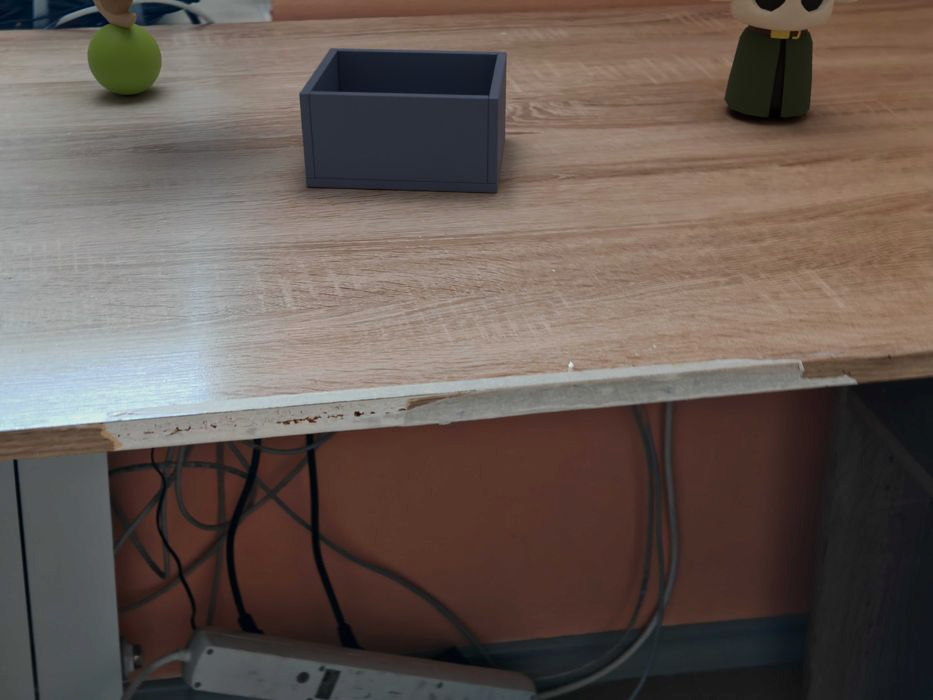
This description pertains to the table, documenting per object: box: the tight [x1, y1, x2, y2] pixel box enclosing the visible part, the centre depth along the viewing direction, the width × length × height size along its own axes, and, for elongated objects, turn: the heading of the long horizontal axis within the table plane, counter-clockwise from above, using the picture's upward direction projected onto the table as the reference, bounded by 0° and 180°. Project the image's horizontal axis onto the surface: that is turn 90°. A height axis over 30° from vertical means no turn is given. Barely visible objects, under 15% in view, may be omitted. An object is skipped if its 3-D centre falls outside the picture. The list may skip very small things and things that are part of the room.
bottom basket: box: [298, 47, 508, 194], centre depth 70 cm, size 12×10×6 cm
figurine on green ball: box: [86, 0, 163, 96], centre depth 82 cm, size 5×6×12 cm
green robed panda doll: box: [709, 0, 859, 119], centre depth 77 cm, size 11×7×13 cm, turn 87°
